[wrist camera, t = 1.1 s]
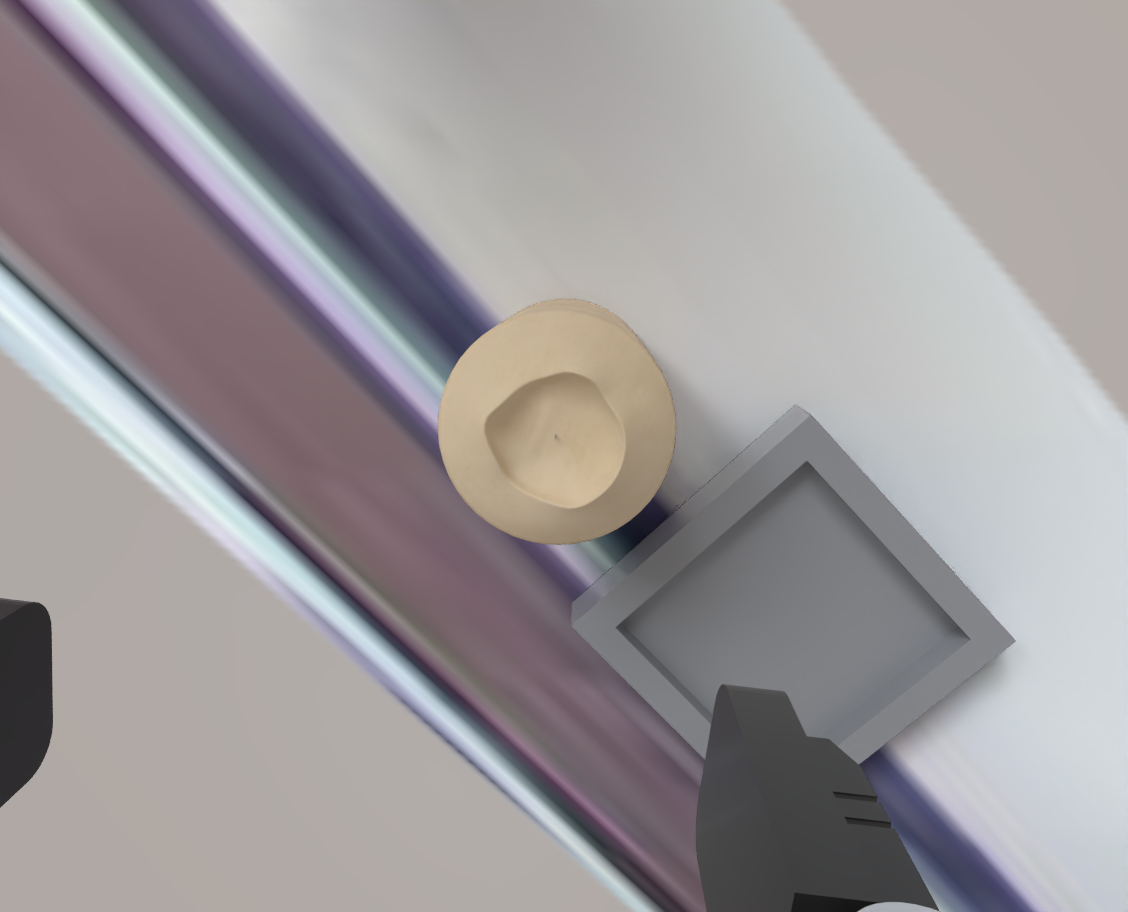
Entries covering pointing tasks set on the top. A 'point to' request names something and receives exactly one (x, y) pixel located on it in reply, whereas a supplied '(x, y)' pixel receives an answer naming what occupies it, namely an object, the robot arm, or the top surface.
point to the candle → (557, 424)
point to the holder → (790, 600)
